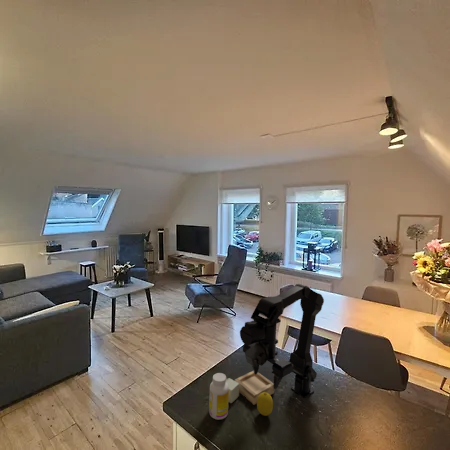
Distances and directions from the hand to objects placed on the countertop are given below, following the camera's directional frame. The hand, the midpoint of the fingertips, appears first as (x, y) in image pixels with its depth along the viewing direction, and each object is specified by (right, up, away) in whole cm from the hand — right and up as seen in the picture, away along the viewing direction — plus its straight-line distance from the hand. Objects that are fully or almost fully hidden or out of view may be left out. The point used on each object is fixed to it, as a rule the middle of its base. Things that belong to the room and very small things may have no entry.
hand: (265, 381), depth 87 cm
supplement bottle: (-16, -12, +1) cm, 20 cm away
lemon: (0, -12, 0) cm, 12 cm away
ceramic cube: (-12, -12, +9) cm, 19 cm away
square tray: (-2, -12, +13) cm, 17 cm away
